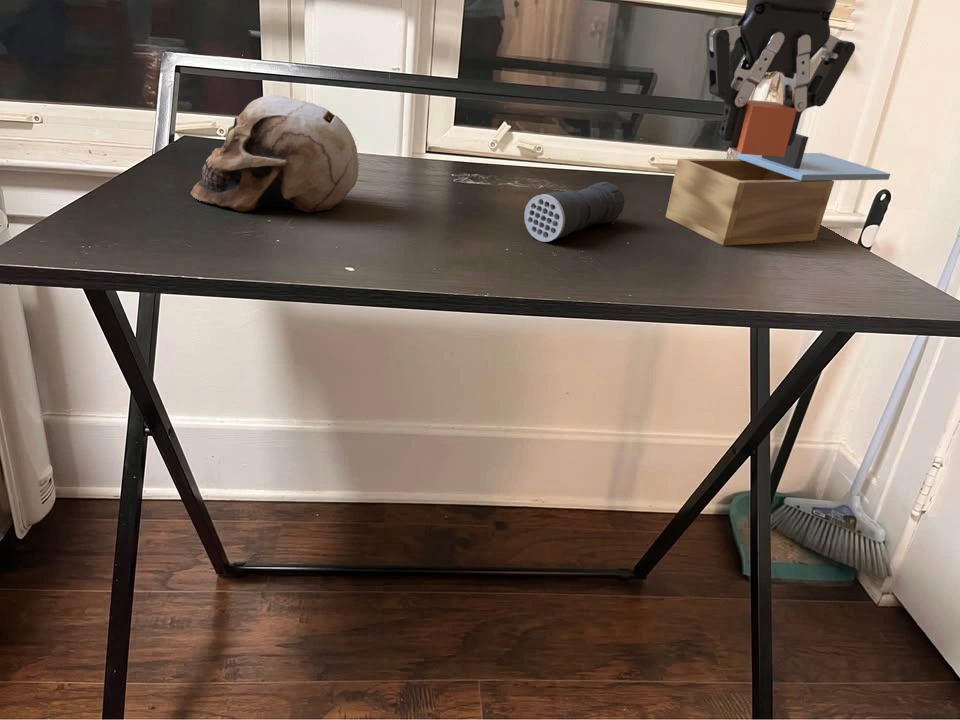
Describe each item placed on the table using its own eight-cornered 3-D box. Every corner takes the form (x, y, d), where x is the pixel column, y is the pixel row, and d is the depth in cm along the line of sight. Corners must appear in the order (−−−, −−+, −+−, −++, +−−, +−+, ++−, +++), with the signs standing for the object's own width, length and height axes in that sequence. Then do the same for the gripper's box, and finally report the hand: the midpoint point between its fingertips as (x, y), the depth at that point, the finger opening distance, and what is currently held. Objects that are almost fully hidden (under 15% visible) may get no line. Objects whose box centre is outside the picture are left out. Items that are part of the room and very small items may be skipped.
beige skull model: (182, 188, 92) (187, 75, 86) (312, 193, 102) (324, 92, 96) (227, 231, 81) (235, 105, 75) (367, 232, 91) (383, 120, 86)
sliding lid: (888, 179, 100) (901, 143, 98) (800, 180, 94) (812, 142, 91) (820, 158, 110) (830, 125, 107) (736, 158, 103) (745, 122, 101)
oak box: (815, 240, 100) (834, 181, 96) (722, 245, 93) (739, 182, 90) (753, 214, 109) (768, 159, 106) (665, 217, 103) (677, 158, 99)
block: (764, 147, 75) (775, 102, 73) (784, 157, 71) (797, 109, 69) (722, 144, 75) (733, 98, 73) (740, 153, 71) (752, 105, 69)
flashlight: (589, 215, 100) (596, 174, 98) (624, 225, 97) (632, 184, 95) (521, 234, 89) (527, 189, 87) (558, 247, 86) (565, 201, 84)
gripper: (744, -62, 61) (698, 151, 69) (904, -44, 63) (841, 161, 70) (709, -58, 67) (671, 135, 75) (855, -42, 69) (803, 145, 77)
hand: (754, 147), depth 73 cm, fingers closed on block, 4 cm apart
